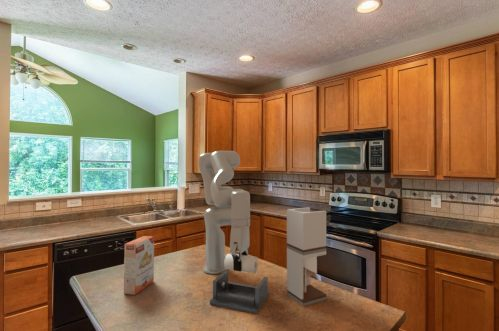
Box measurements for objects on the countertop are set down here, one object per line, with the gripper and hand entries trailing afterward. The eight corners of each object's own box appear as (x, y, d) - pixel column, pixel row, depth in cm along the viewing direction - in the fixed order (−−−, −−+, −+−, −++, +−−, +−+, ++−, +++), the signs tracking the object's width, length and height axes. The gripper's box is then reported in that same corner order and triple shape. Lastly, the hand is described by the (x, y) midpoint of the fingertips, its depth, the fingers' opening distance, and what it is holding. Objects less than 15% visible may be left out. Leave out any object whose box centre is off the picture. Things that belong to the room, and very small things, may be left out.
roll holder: (227, 287, 119) (227, 268, 119) (269, 294, 112) (269, 274, 112) (209, 304, 104) (209, 283, 104) (256, 314, 97) (256, 291, 97)
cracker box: (136, 296, 111) (136, 244, 111) (123, 294, 112) (123, 243, 112) (154, 281, 125) (154, 235, 125) (143, 280, 126) (142, 235, 126)
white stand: (303, 306, 103) (303, 213, 103) (286, 294, 112) (286, 209, 112) (326, 299, 108) (326, 210, 108) (308, 288, 117) (308, 207, 117)
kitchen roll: (230, 264, 113) (229, 251, 113) (258, 268, 109) (257, 254, 108) (224, 271, 108) (223, 257, 107) (253, 276, 103) (252, 261, 103)
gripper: (240, 217, 118) (240, 259, 117) (222, 225, 101) (222, 274, 101) (256, 218, 115) (257, 261, 115) (241, 227, 99) (241, 277, 99)
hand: (240, 267), depth 108 cm, fingers closed on kitchen roll, 6 cm apart
